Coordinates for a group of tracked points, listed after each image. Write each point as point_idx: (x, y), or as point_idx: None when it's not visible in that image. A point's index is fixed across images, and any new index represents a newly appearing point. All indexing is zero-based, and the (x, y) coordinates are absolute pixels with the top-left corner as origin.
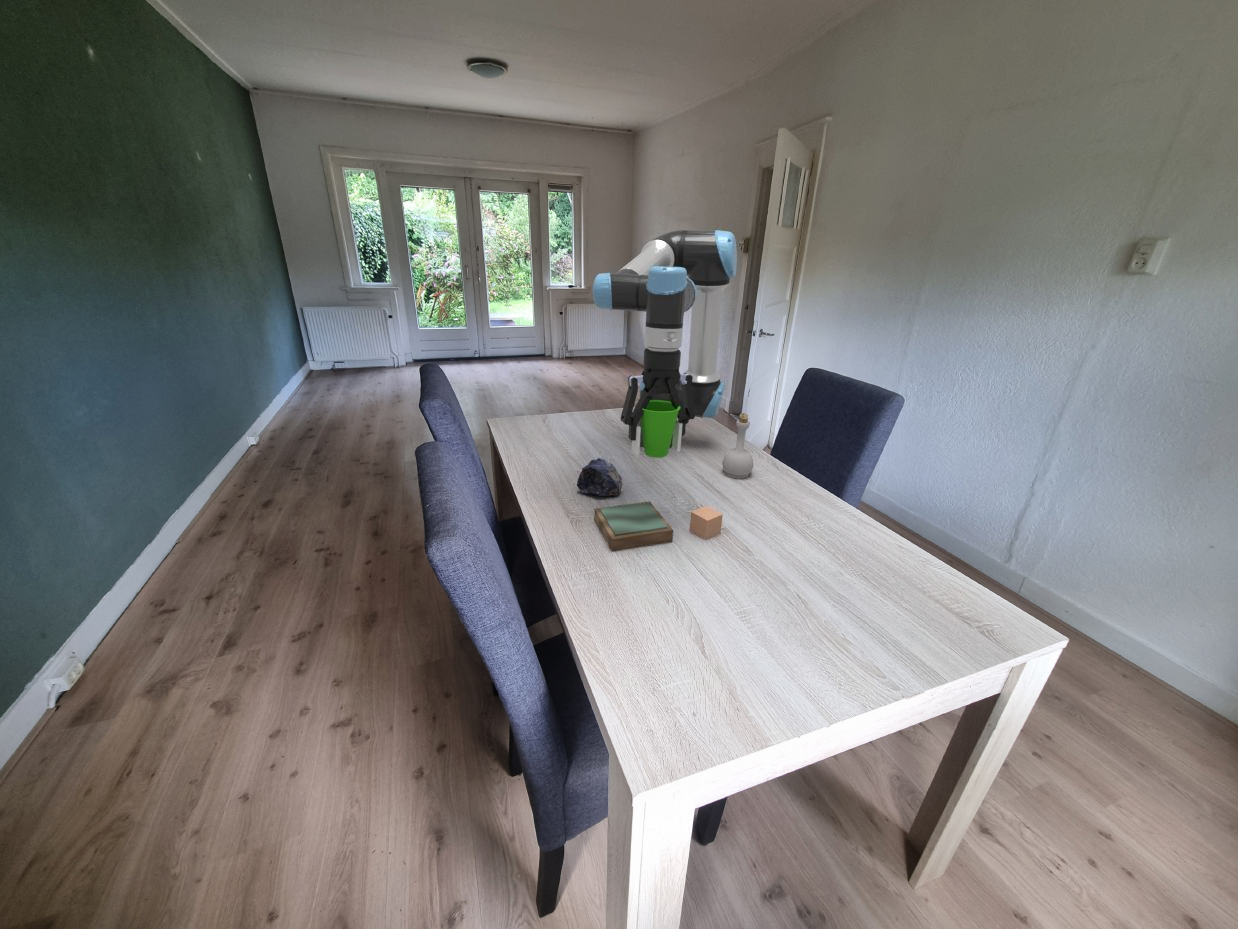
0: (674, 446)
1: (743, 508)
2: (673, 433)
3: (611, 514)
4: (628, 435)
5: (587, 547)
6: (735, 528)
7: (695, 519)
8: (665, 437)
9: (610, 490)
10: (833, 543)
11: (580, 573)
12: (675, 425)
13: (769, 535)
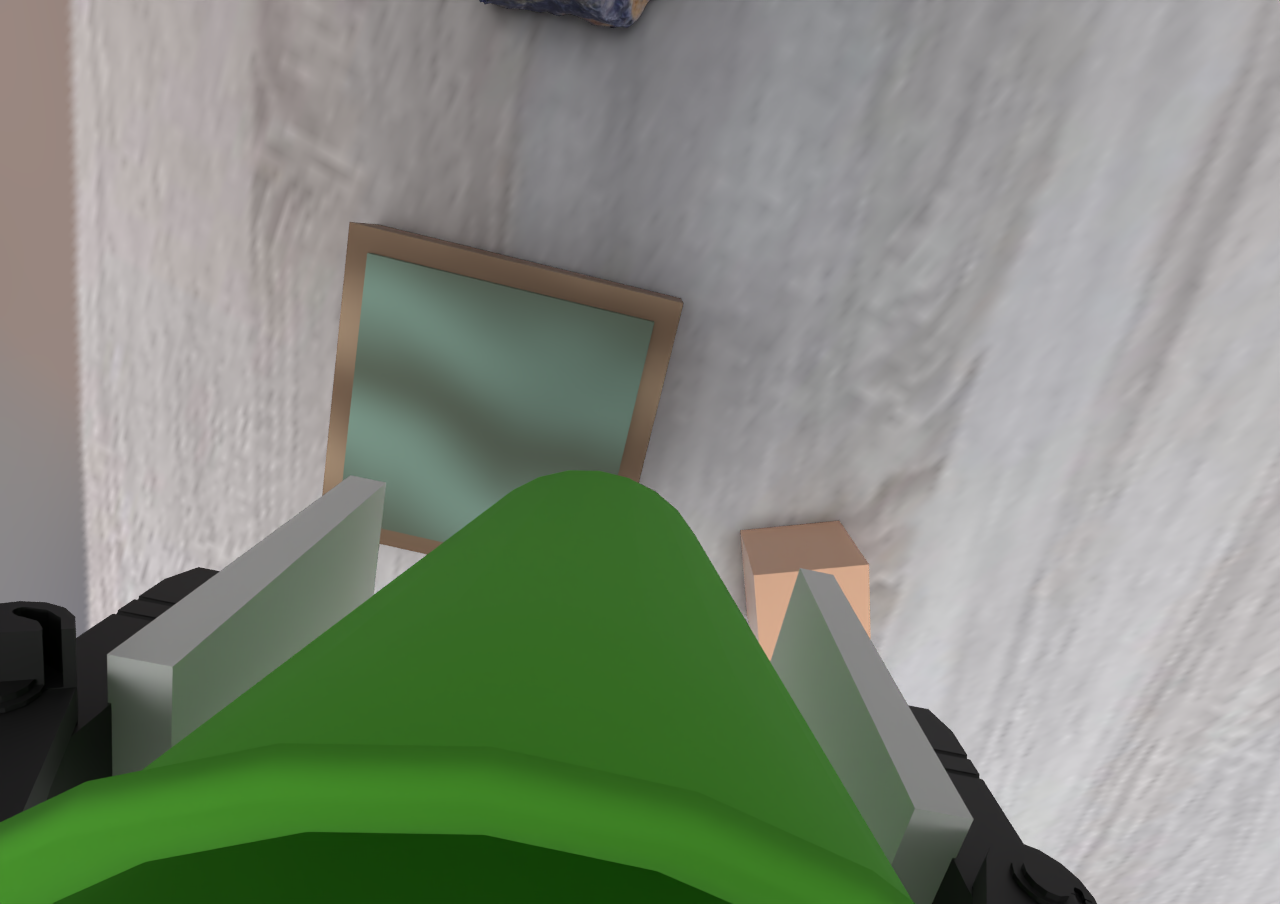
0: (791, 633)
1: (1122, 500)
2: (841, 672)
3: (400, 345)
4: (154, 588)
5: (262, 431)
6: (928, 611)
7: (751, 591)
8: (550, 882)
9: (562, 10)
10: (1148, 847)
11: (182, 568)
12: (867, 803)
13: (1000, 710)
